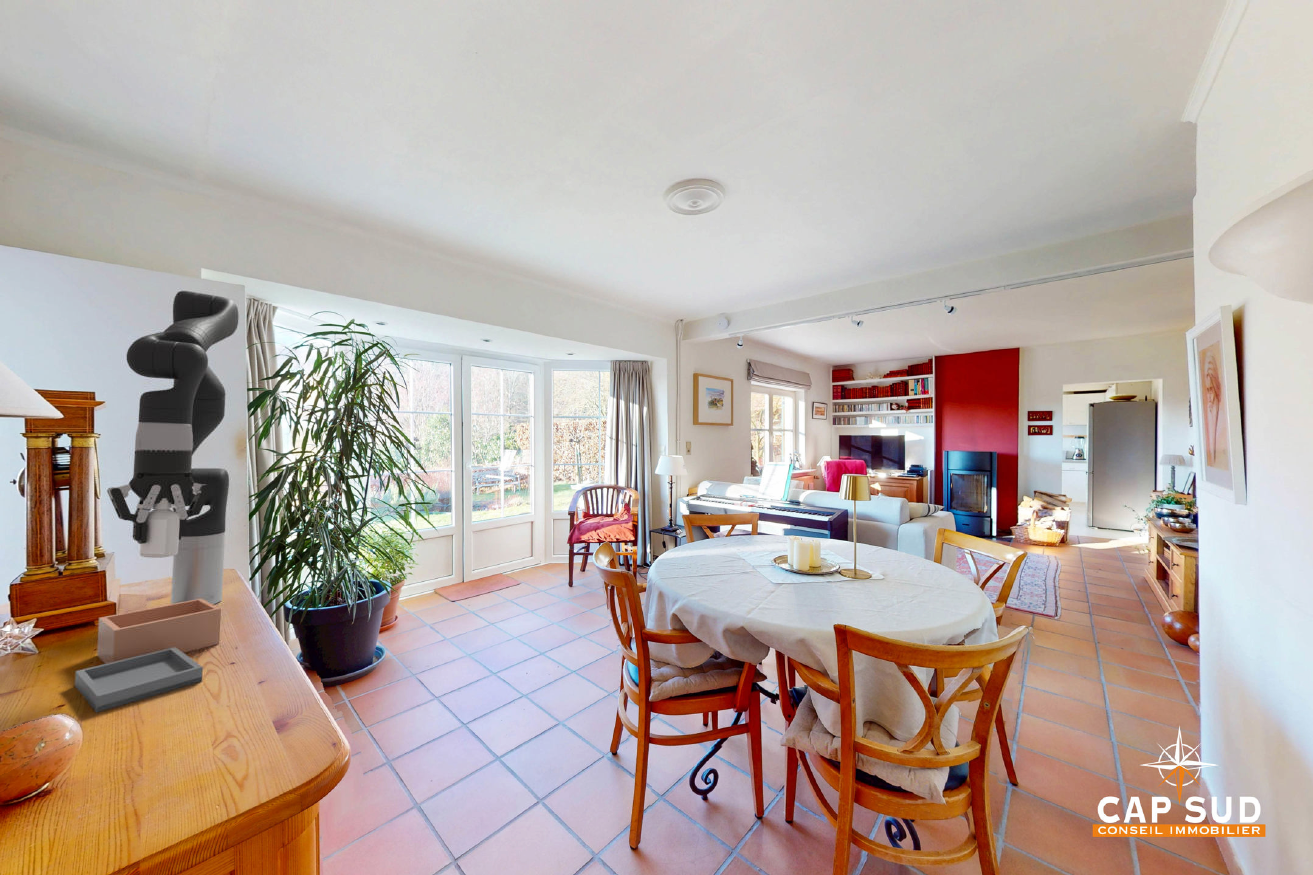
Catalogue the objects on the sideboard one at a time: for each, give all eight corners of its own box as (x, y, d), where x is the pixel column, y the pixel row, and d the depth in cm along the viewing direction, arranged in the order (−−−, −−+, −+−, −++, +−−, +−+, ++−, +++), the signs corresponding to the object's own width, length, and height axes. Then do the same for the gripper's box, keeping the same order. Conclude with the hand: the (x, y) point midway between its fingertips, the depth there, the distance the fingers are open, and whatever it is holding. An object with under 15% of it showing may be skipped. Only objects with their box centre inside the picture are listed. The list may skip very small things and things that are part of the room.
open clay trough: (97, 655, 92) (99, 617, 92) (199, 631, 104) (201, 598, 104) (112, 670, 86) (114, 630, 86) (219, 643, 98) (220, 608, 99)
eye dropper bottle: (145, 559, 87) (149, 491, 87) (138, 555, 90) (142, 490, 91) (179, 556, 91) (183, 490, 91) (171, 552, 94) (174, 489, 94)
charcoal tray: (74, 685, 81) (75, 671, 81) (174, 659, 91) (175, 646, 91) (96, 712, 73) (97, 696, 73) (201, 681, 83) (202, 666, 84)
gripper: (206, 448, 99) (202, 534, 98) (102, 447, 87) (96, 544, 86) (221, 449, 95) (216, 538, 94) (113, 447, 83) (107, 549, 82)
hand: (159, 540), depth 90 cm, fingers closed on eye dropper bottle, 4 cm apart
